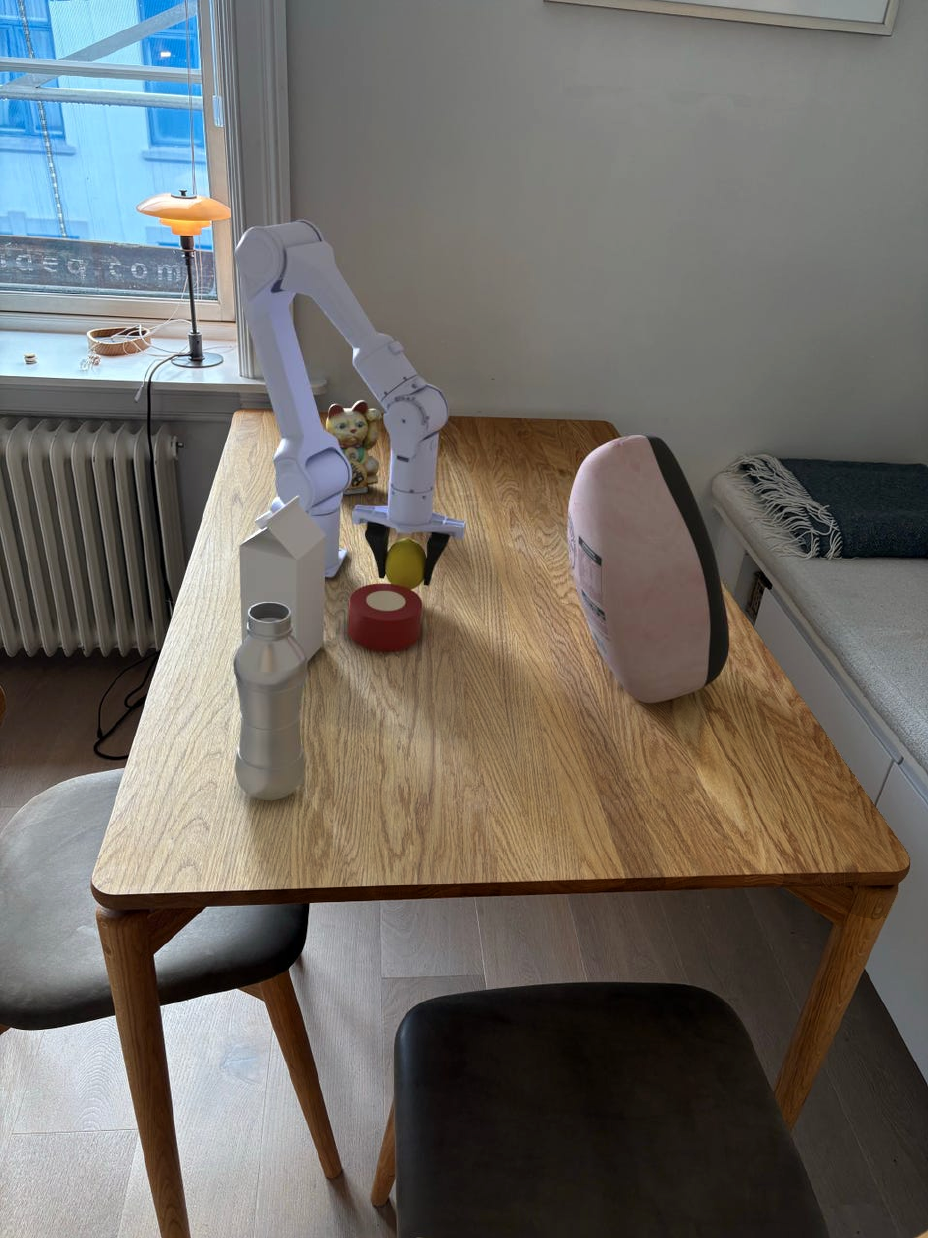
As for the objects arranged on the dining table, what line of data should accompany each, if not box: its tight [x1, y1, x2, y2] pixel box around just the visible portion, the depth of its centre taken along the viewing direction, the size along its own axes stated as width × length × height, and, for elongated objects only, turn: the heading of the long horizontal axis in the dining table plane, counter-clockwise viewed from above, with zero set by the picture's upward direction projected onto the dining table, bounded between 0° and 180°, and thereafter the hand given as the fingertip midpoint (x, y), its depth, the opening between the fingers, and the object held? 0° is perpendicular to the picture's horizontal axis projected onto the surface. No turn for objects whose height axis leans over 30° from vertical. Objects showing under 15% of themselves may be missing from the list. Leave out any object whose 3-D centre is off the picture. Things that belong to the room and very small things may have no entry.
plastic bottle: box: [232, 602, 309, 801], centre depth 88 cm, size 6×7×20 cm
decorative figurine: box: [325, 399, 383, 495], centre depth 152 cm, size 10×8×15 cm
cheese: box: [347, 582, 423, 653], centre depth 118 cm, size 9×9×5 cm
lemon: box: [385, 537, 427, 590], centre depth 125 cm, size 6×6×8 cm
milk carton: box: [238, 496, 326, 662], centre depth 108 cm, size 7×7×19 cm
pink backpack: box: [566, 434, 730, 704], centre depth 109 cm, size 22×20×30 cm
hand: (404, 578), depth 126 cm, fingers closed on lemon, 5 cm apart
